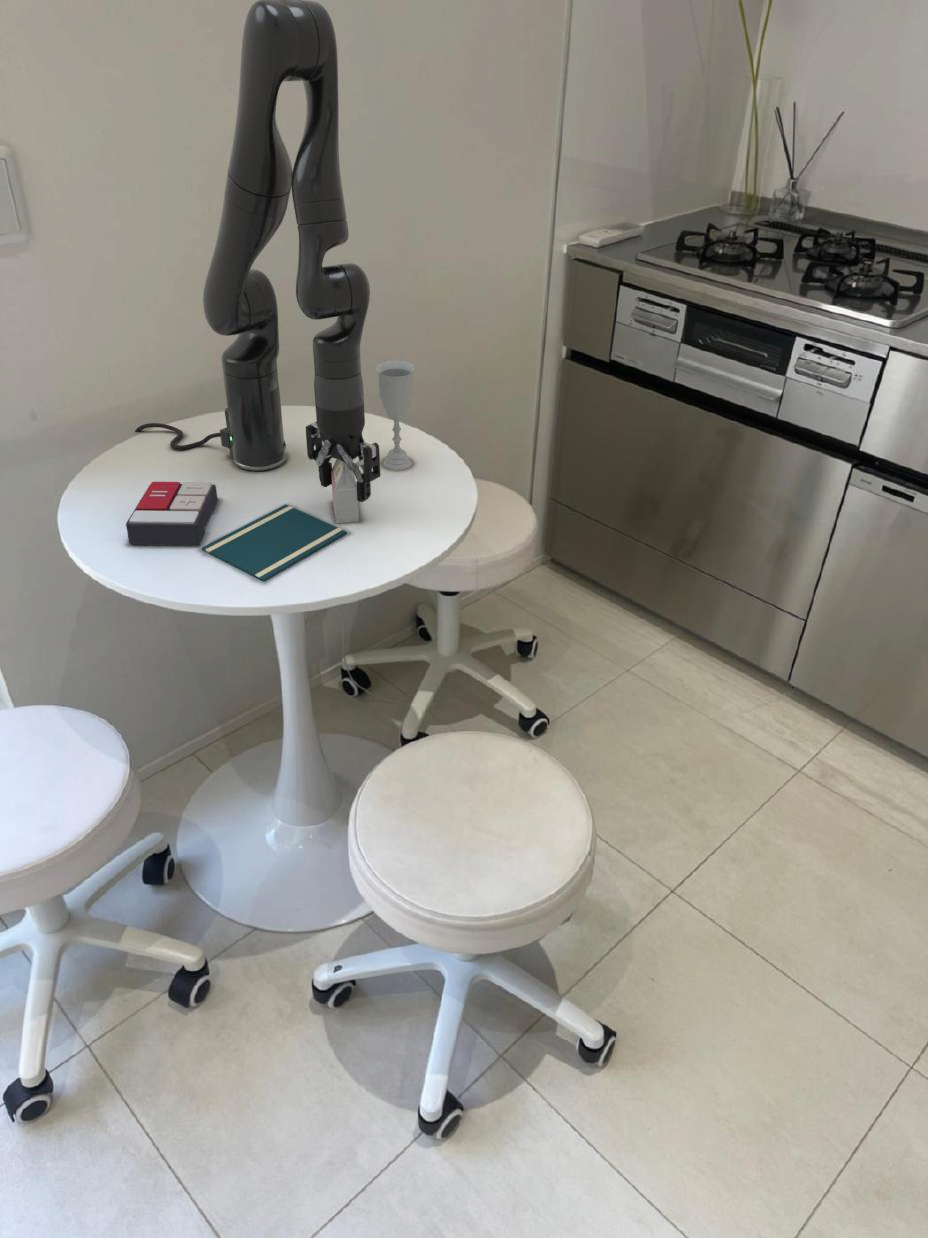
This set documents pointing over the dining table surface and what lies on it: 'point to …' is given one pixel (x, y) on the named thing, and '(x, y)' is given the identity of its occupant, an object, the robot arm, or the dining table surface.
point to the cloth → (274, 542)
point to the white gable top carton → (344, 493)
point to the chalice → (396, 404)
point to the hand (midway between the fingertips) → (345, 492)
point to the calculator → (172, 513)
